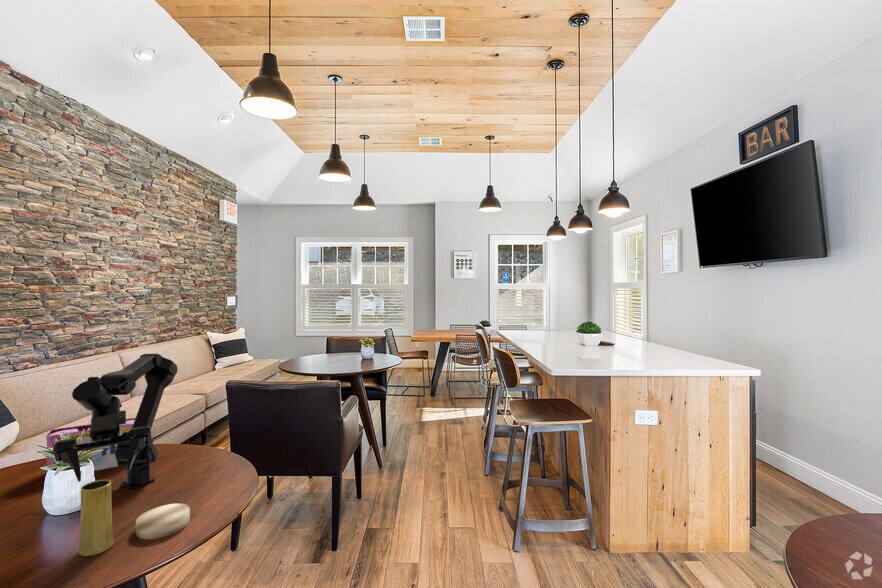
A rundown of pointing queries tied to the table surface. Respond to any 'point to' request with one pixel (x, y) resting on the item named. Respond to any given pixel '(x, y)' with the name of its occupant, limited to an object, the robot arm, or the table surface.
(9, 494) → the table surface
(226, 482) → the table surface
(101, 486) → the vase
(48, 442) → the gum box
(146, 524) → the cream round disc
